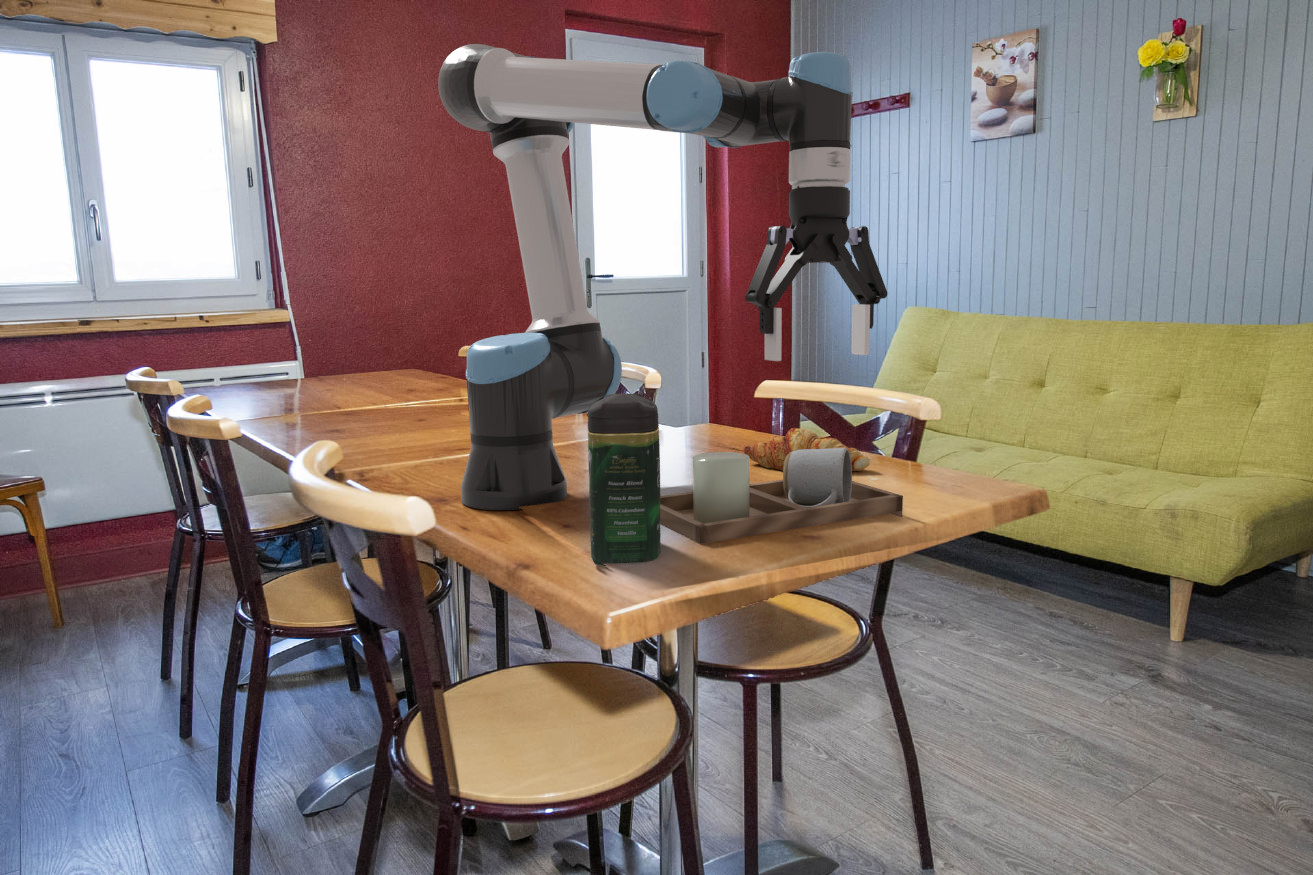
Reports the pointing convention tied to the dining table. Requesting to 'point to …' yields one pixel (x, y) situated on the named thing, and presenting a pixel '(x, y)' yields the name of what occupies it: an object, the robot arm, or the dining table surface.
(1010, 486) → the dining table surface
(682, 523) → the caddy
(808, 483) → the ceramic mug
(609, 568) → the dining table surface
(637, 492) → the coffee jar
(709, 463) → the pale green pillar candle
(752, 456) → the croissant
